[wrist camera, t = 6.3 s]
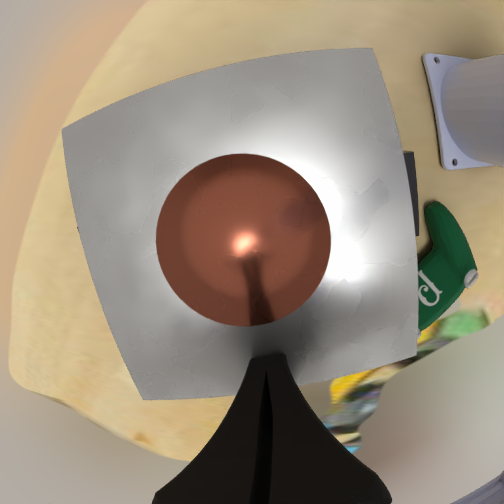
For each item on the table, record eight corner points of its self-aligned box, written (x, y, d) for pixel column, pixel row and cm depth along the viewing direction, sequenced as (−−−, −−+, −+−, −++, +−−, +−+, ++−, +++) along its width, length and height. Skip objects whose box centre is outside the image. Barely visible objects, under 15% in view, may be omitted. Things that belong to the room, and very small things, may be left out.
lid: (365, 56, 9) (373, 45, 8) (409, 346, 11) (418, 357, 10) (72, 131, 10) (58, 128, 9) (148, 390, 12) (141, 402, 11)
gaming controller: (351, 293, 21) (397, 353, 18) (338, 291, 18) (394, 362, 15) (433, 211, 19) (484, 267, 16) (435, 193, 16) (497, 260, 13)
